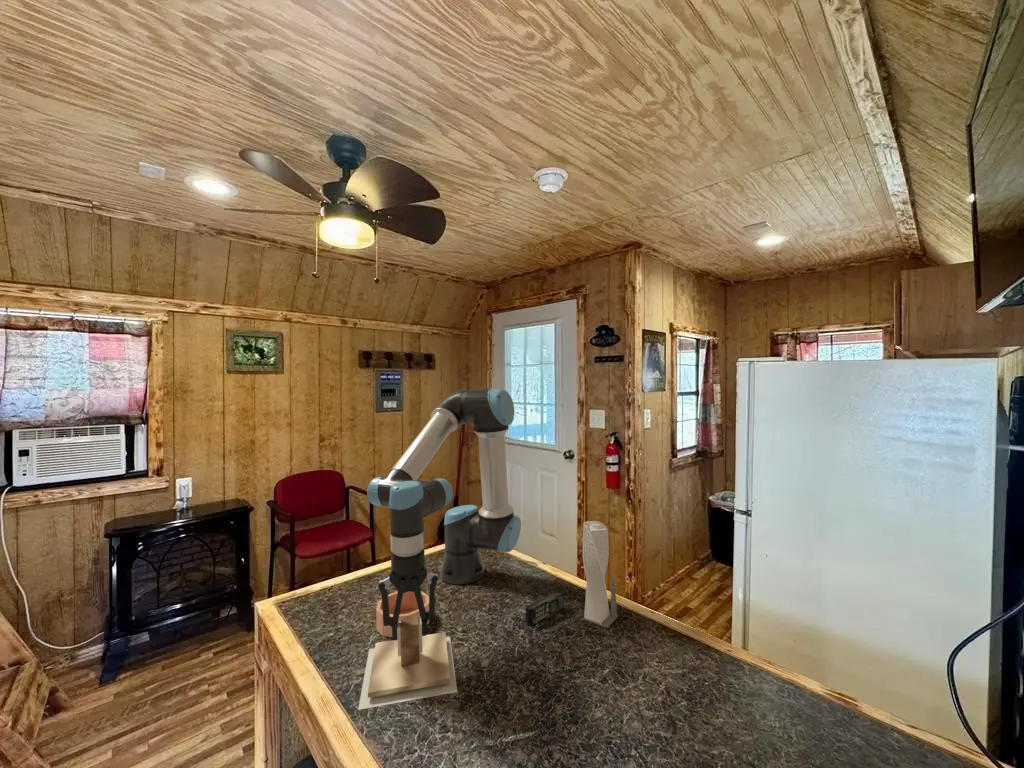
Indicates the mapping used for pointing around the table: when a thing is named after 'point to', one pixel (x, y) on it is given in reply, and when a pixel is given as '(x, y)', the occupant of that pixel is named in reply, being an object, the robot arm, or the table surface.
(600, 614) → the skyscraper
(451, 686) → the mat
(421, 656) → the board
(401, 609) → the bowl
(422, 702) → the table surface
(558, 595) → the mobile phone
